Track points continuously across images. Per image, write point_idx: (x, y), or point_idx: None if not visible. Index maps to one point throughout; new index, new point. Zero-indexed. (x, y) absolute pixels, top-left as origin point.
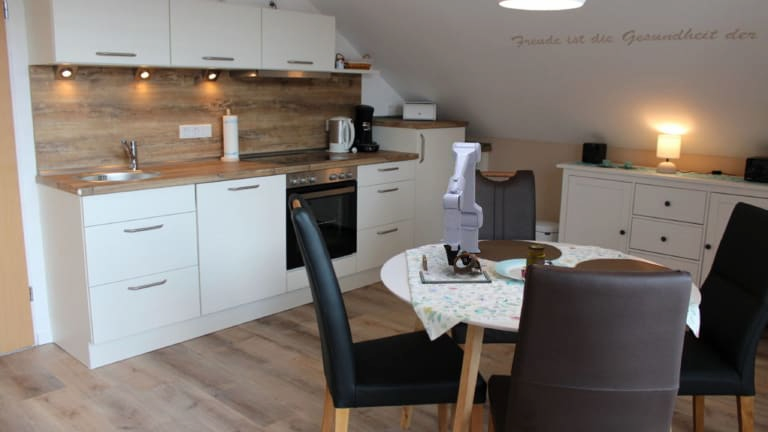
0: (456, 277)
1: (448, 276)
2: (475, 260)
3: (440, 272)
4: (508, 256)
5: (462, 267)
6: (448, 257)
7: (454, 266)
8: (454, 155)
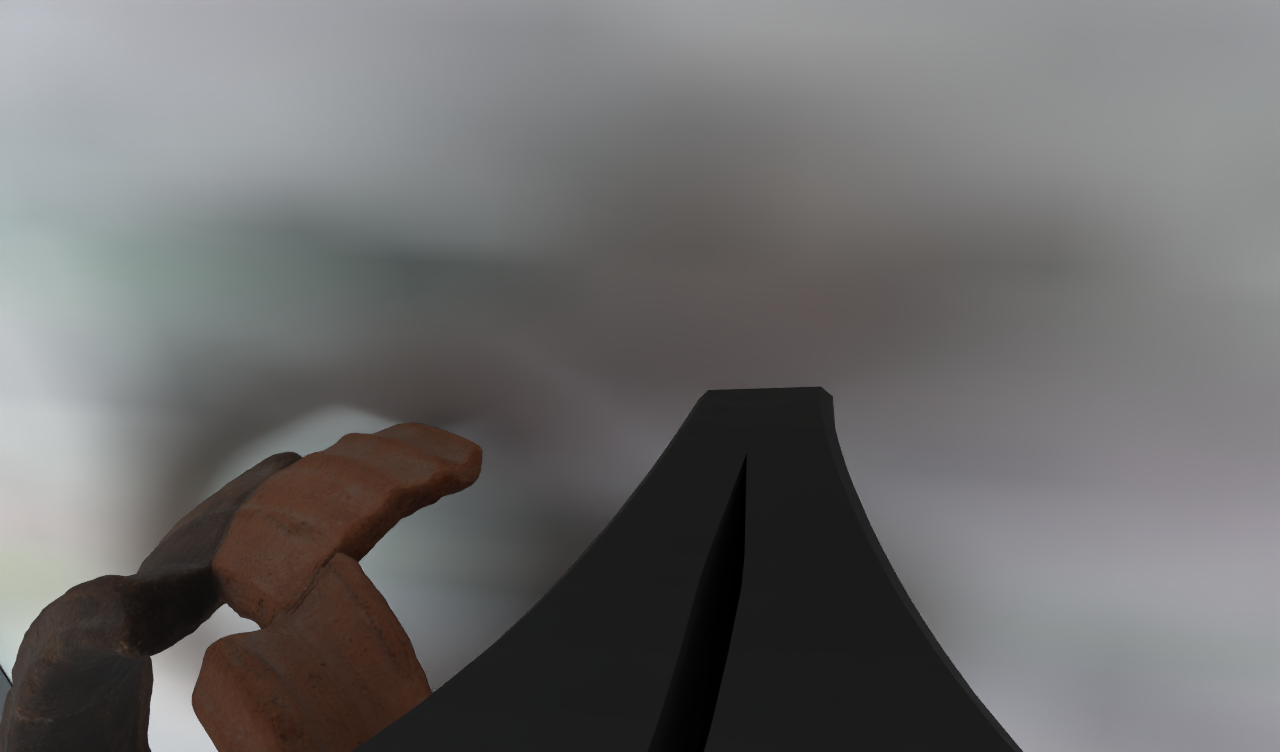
0: (192, 428)
1: (207, 252)
2: None
3: (551, 30)
4: None
5: (11, 747)
6: (565, 596)
7: (103, 580)
8: None
